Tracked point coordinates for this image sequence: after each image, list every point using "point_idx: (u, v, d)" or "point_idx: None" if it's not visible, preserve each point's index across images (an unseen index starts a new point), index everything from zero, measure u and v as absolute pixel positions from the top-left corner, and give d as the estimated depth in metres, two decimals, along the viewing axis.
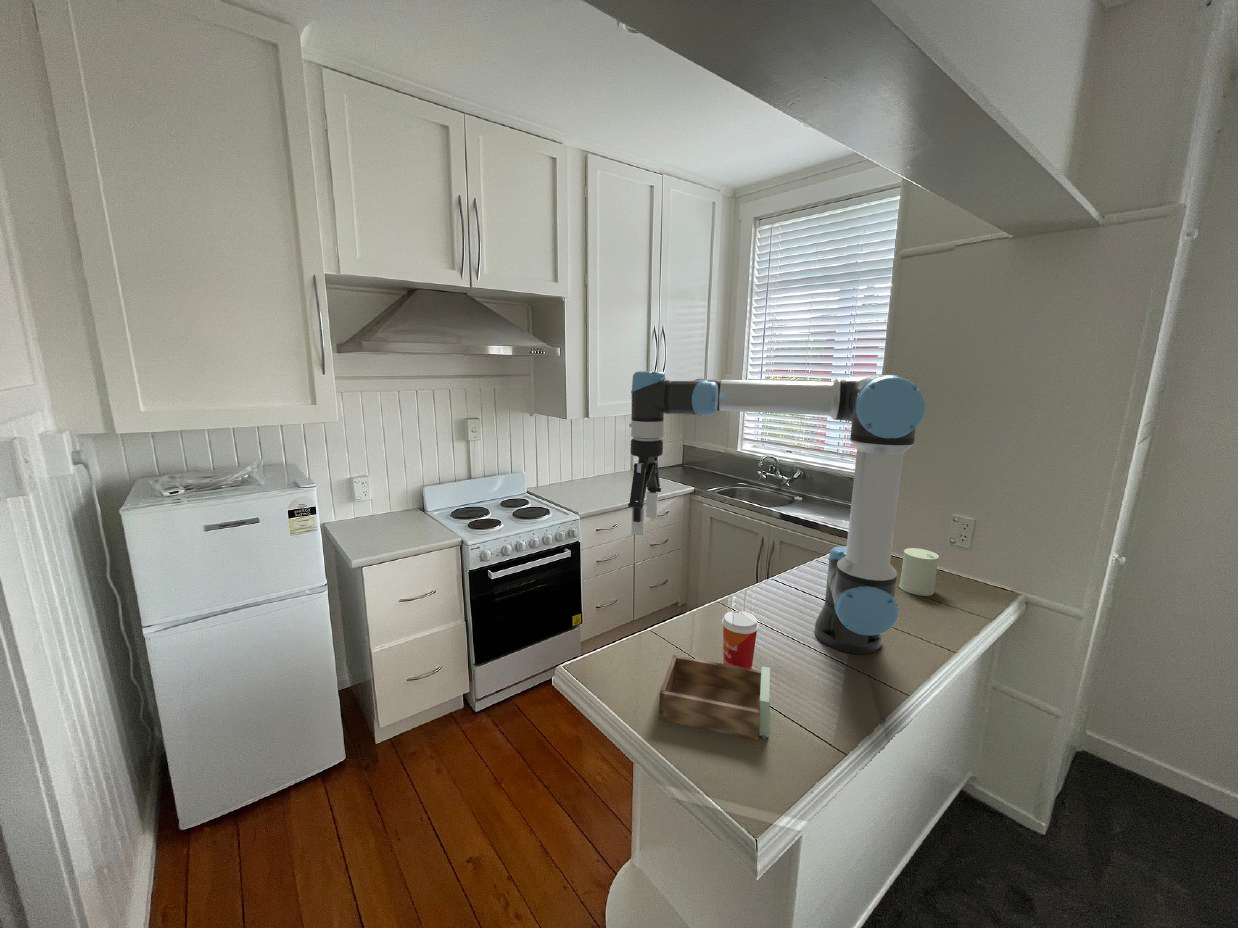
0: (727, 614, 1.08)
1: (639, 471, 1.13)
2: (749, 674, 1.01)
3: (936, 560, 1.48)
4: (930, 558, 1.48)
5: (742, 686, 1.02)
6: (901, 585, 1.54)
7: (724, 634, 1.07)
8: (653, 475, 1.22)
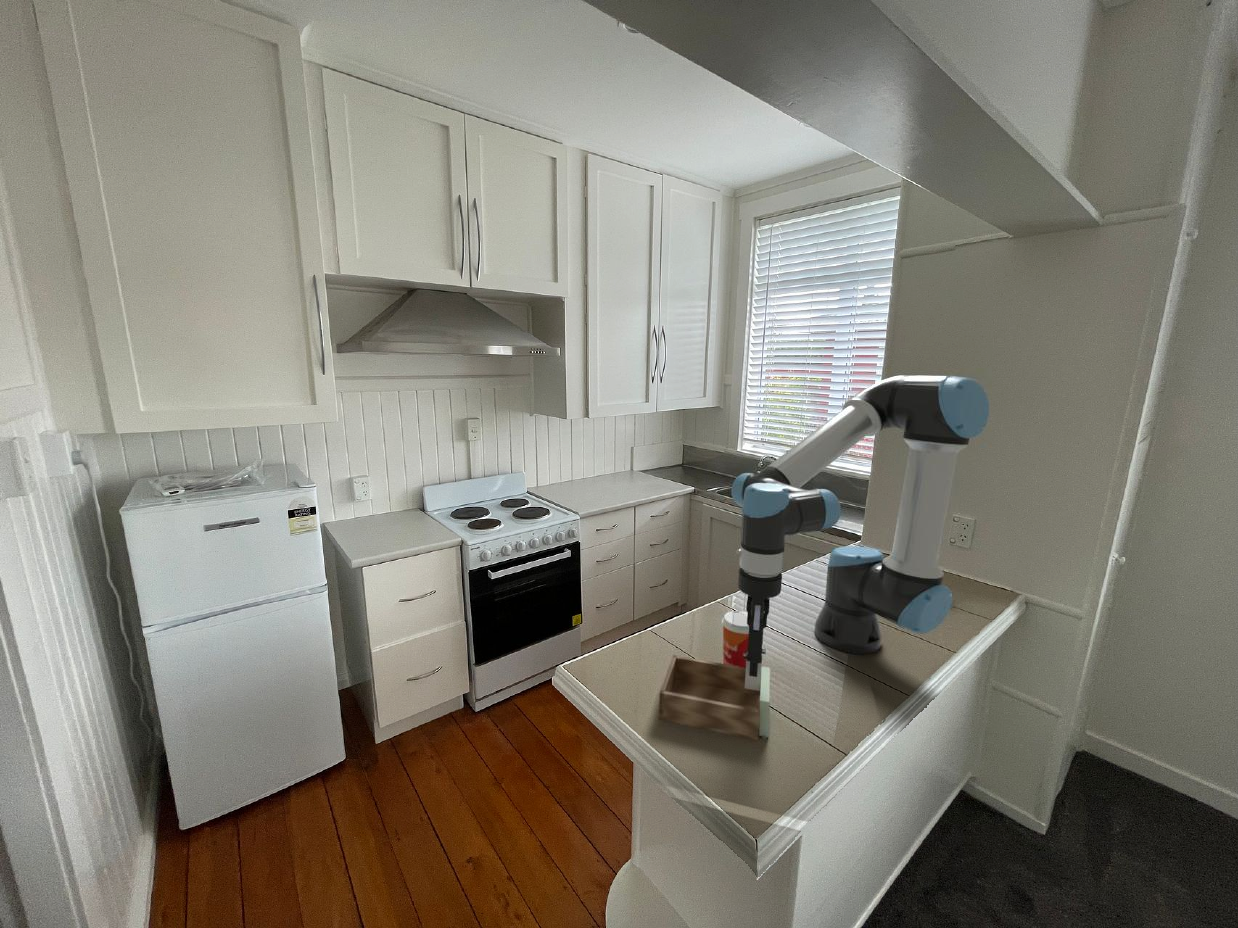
0: (727, 614, 1.08)
1: (756, 629, 0.87)
2: None
3: None
4: None
5: (742, 686, 1.02)
6: None
7: (724, 634, 1.07)
8: (763, 619, 0.93)
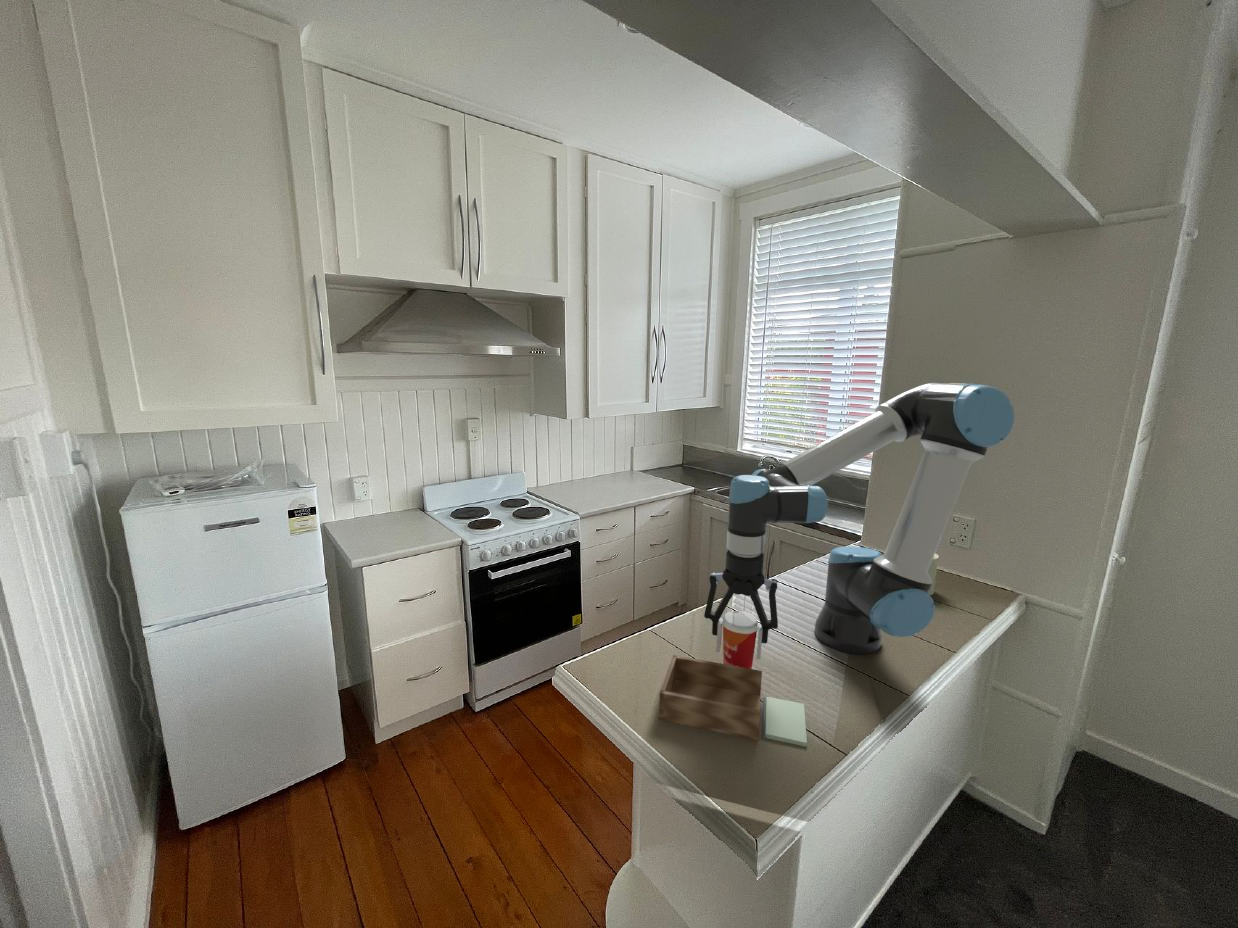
0: (727, 614, 1.08)
1: None
2: (749, 674, 1.01)
3: (936, 560, 1.48)
4: None
5: (742, 686, 1.02)
6: None
7: (724, 634, 1.07)
8: None
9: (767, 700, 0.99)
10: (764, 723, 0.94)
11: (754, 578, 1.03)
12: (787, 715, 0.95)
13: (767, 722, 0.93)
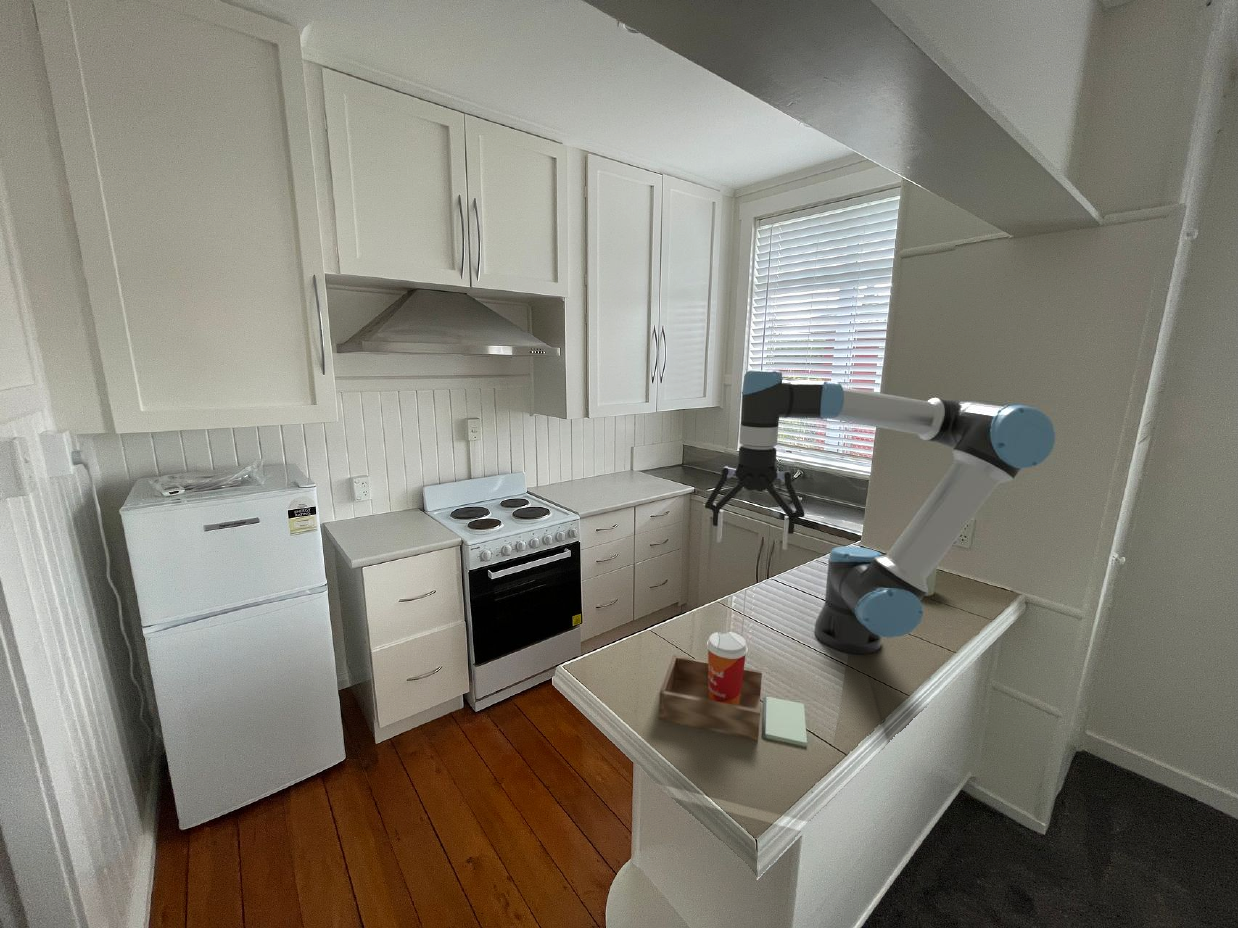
0: (713, 635, 0.97)
1: None
2: (749, 674, 1.01)
3: None
4: None
5: (742, 686, 1.02)
6: None
7: (709, 658, 0.95)
8: (769, 492, 1.04)
9: (767, 700, 0.99)
10: (764, 723, 0.94)
11: (766, 474, 1.04)
12: (787, 715, 0.95)
13: (767, 722, 0.93)
